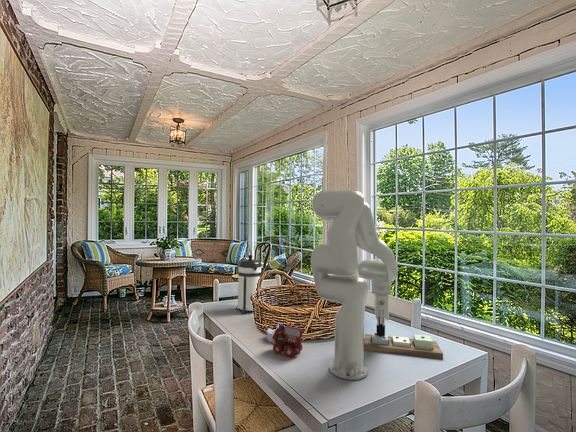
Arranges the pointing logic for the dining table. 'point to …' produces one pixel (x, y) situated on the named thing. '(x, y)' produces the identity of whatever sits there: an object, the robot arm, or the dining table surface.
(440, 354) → the wooden compartment tray
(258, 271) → the coffee press
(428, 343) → the pale green drawer
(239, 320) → the dining table surface
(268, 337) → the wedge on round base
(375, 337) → the pale blue drawer
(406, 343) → the cream drawer
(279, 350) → the toy fire truck
